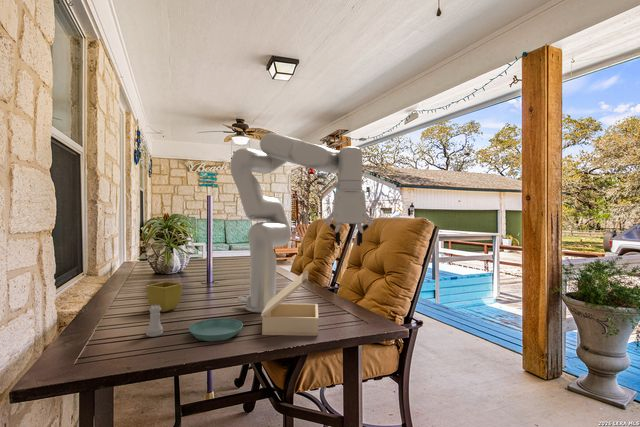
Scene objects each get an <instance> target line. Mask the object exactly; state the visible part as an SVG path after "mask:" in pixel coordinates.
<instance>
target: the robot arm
mask: <svg viewBox="0 0 640 427" xmlns="http://www.w3.org/2000/svg"><path fill="white" fill-rule="evenodd" d="M259 147H260V150H257V149H254V148H248V147H246V148H245V147H244V148H238V149H237V150H236V151H234V153H233V154H232V156H231V158H230V159H231V160H230V166H229V167H230V173H231V177H232V179H233V182H234V184H235V186H236V188H237V191H238V195H239V199H240V201H241V204H242V207H243V208H242V209H243V211H244V213H245V216H246V218H247V219H248V220H250V221H253V222H255V221H256V223H253V224H252V225H251V227H250V228H249V230H248V234H247V240H248V244H249V246H248V247H249V252H250V256H249V257H250V261H249V262H250V263H249V266H250V267H249V295H246V296H237V302H239V303H241V304H243V303H244V304H245V305H244V309H245V310H246V311H247V312H251V313H261V314H262V312H263V310H264V308H265V306H266V304H267V302H268V301H269V300H270V299H271V298H273V297H274V296H275V295H276V294H277V264H278V263H277V255H276V253H275V250H274V248H279V247H284V246H286V245H288V244H289V243H290V241H291V237H292V235H291V234H292V231H291V227H290V225H289V221H288V219H287V216H286V213H285V210H284V207H283V204H282V203H281V201H280V200H278V199H277V198H276V197H273V196H266V195H265V194H264V193H263V190H262V188H261V184H260V182H259V181H258V179H257V177H256V176H255V175H254V174H253V173H257V174H264V175H267V174H270V173H273V172H274V171H276V170H278V169H279V168H280V167H282V166H283V165H285V164H286V163H290V164H294V165H295V164H296V165H298V166H302V167H304V168H309V169H311V170H315V171H318V172H320V171H321V172H325V173H329V174H337V182H334V183H332V188H334V189H337V190H336V191H334V192H335V193H334V197H333V204H332V212H331V213H330V214H329V215H328V216H327V217H326V218H325V219H324V223H325V224H326V225H328V226H329V227H330V228H331V230H333V231H334V243H335V244H336V245H337V246H341V232H340V230H341V229H340V228H341V226H342V224H346V225H347V224H349V225H350V224H352V225H353V224H355V225H356V228H357V230H358V231H357V232H356V246H358V247H361V244H363V233H364V232H365V231H366V230H367V229H368V228H369V227H371V226H372V225H373V224H374V220H373V219H372V217H371V216H369V214H368V213H367V205H366V202H367V201H366V194H365V191H363V190H362V189H363V188H362V186H363V150H362V149H361V148H360V147H357V146H343V147H341V148H340V149H339V150H336V149H333V148H330V147H326V146H323V145H320V144H315V143H311V142H308V141H307V142H306V141H303V140H302V139H299V138H295V137H290V136H287V135H284V134H280V133H275V132H269V133H265V134H264V135H263V136H262V137H261V138H260V141H259ZM331 220H332V221H333V222H334V223H336V224H334V223H332V222H331ZM257 221H258V222H257ZM362 224H364V225H362Z"/></svg>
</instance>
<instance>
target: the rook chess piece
mask: <svg viewBox="0 0 640 427" xmlns="http://www.w3.org/2000/svg"><path fill="white" fill-rule="evenodd" d="M149 306H150V307H149V308H148V309H149V310H148V311H149V312H150V314H149V317H150V319H149V324H148V326H147V328H146V333H145V335H146V336H147V337H148V338H149V337H150V338H151V337H152V338H153V337H154V338H155V337H160V336H161V335H163V334H164V331H163V330H164V327H163V326H162V324H161V317H160V316H161V313H160V312H162V311H161V307H160V305H158V306H156V305H154V307H153V305H152V306H151V305H149Z"/></svg>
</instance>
